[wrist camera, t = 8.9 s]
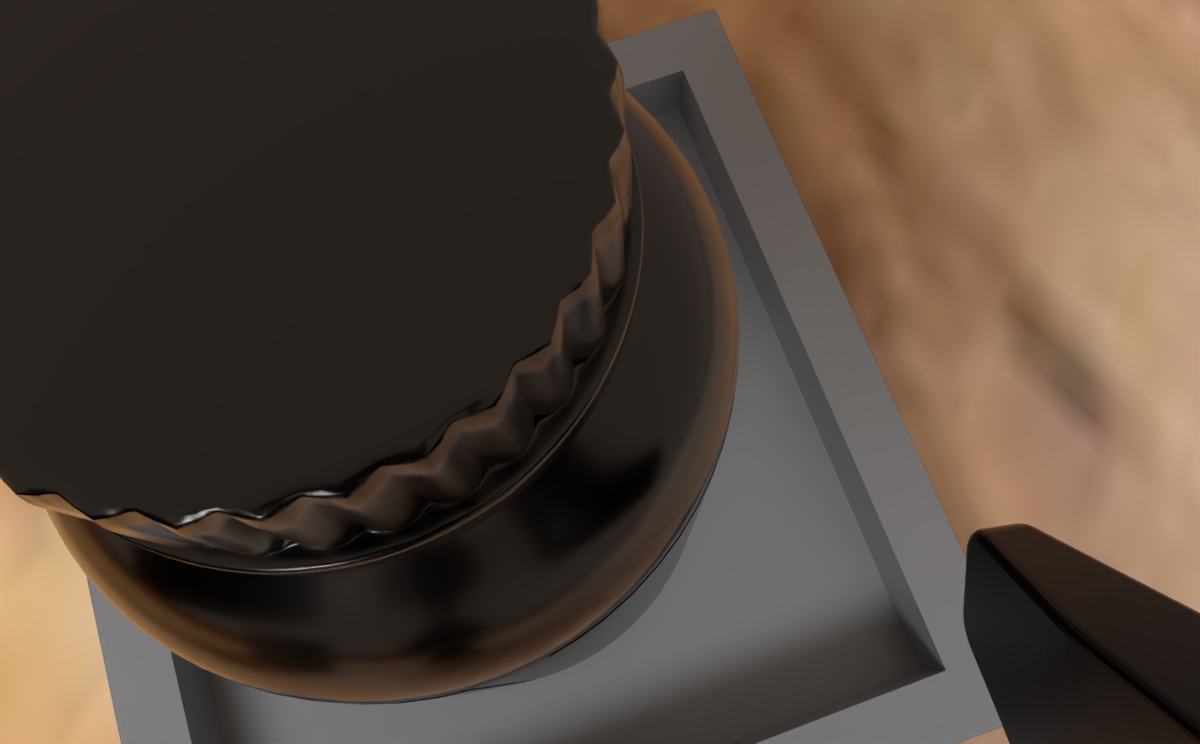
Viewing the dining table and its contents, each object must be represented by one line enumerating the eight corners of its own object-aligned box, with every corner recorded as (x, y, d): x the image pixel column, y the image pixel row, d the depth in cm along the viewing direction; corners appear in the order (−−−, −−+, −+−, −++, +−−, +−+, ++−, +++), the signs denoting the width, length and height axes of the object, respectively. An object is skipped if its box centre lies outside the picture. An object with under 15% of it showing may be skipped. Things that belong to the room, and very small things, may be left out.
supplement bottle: (468, 226, 19) (224, -475, 7) (771, 444, 18) (1055, 12, 6) (214, 519, 17) (-592, 223, 6) (523, 780, 16) (274, 1060, 5)
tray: (993, 708, 17) (1037, 713, 15) (232, 1004, 16) (183, 1045, 14) (706, 65, 20) (714, 8, 19) (70, 273, 19) (16, 234, 18)
